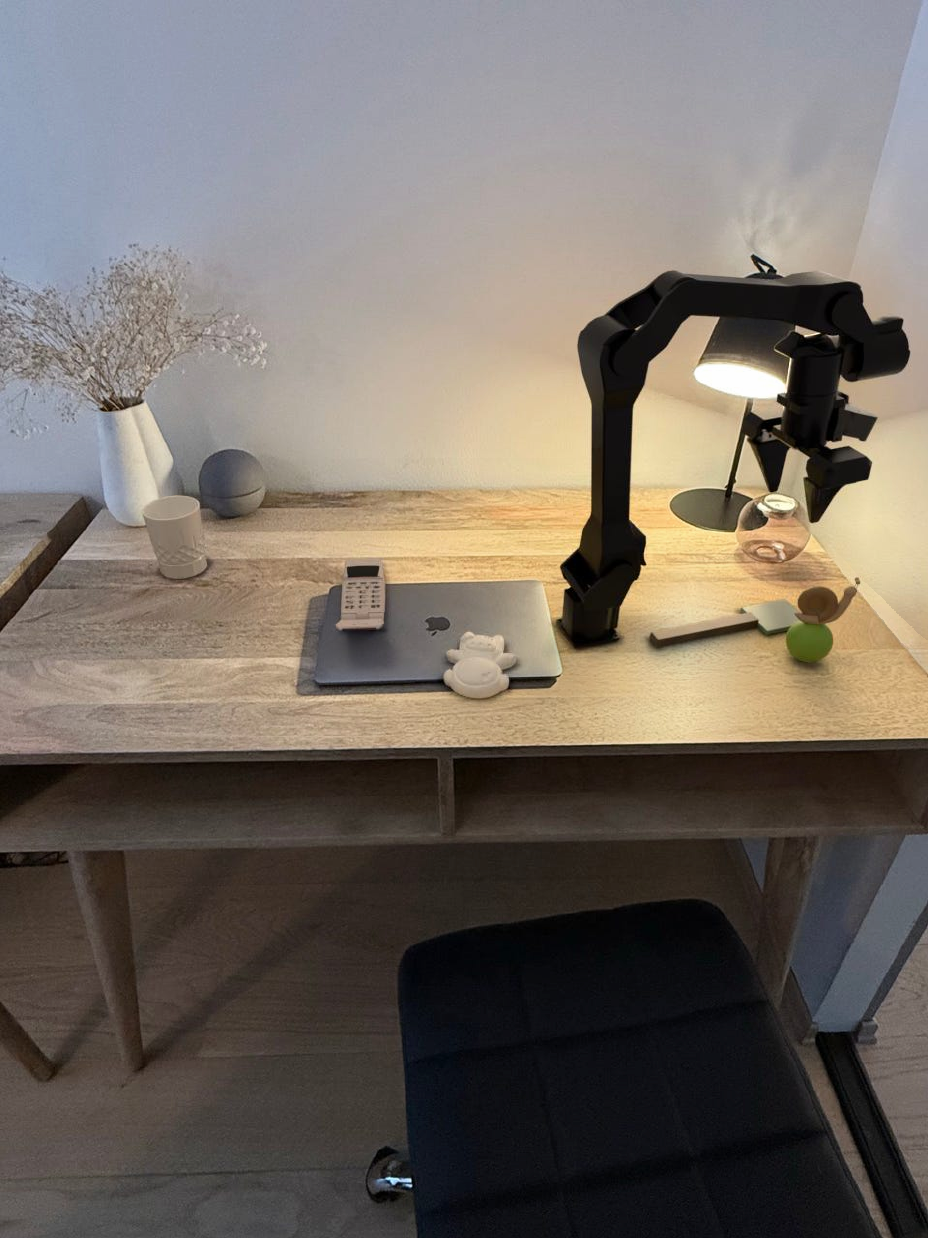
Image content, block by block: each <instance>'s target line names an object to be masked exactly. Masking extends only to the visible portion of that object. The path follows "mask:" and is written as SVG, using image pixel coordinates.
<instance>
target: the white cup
mask: <svg viewBox="0 0 928 1238" xmlns="http://www.w3.org/2000/svg"><path fill="white" fill-rule="evenodd" d="M201 510H202V509H201V503H200V501H199V500H198V499H197V498H194V497H192V496H189V495H170V496H169V495H167V496H163V497H160V498H157V499H153V500H152V501H150V502H148V503H146V505H144V506H143V508H142V509H141V514H142V517H143V520H144V523H145V528H146V530H147V534H148V537H149V542H150V544H151V546H152V550H153V553H154V555H155V558H156V561H157V564H158V568H159V571H160V574H162V575H163V576H164V577H165V578H168V579H172V580H183V579H188V578H192V577H196V576H198V575H199V574H201V573H203V572H204V571H206V569H207V568H208V560H207V555H206V549H207V547H206V537H205V532H204V525H203V518H202V511H201Z"/></svg>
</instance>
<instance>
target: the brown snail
mask: <svg viewBox="0 0 928 1238" xmlns="http://www.w3.org/2000/svg"><path fill="white" fill-rule="evenodd" d="M854 582H855V585H854V586H852V585H848V586H846V587H845V588H844V589H843V594H842V597H841V598H840V600H839V599H838V596H837V594H836V593H835V591H833V590H832V589H830V588H828V587H826V586H821V585H816V586H811V587H808V588H806V589H805V590H803V591H802V592H801V593H800V595H799V596H798V598H797V608H798V609H799V611H800V612H801V613H799V612H795V616H796V617H797V618H798V619H799V621H797V622H796V623H794V624H793V625H792V626H791V627H790V629H789V630H788V631H786V632H787V633H786V635H785V645H786V648H787V650H788V652H789V653H790V654H791V655H792V656H793V657H794V658H795V659H797V660H798V661H801V662H804V663H815V662H818V661H821V660H823V659H825V657H827V656H828V655H829V654H830V653H831V650H832V648H833V647H834V635H833V633H832V630H831V629H830V627H829V626H828V625H827V624H830V623H833V622H835V621H837V620H838V619H840V618H841V617H842V616H843V615H844V614H845V612H846V611H847V609H848V608H849V606H850V605H851V603H852V600H853V598H855V597H856V595H857V593H858V589H857V588H858V586H859V585H860V584H861V580H860V577H858V576H856V577H854Z"/></svg>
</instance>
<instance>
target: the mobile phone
mask: <svg viewBox="0 0 928 1238" xmlns="http://www.w3.org/2000/svg"><path fill="white" fill-rule="evenodd" d="M341 584H342V585H341V599H340V600H341V602H340V604H341V605H340V613H341V614H340V620H339V621H338V622H337V623H335V627H336V629H338V630H339V631H367V630H368V631H369V630H370V631H371V630H381V629H382V628H383V626H384V624H385V620H384V619H385V612H386V577H385V568H384V561H383V558H382V557H361V558H360V557H358V558H356V557H355V558H345V561H344V569H343V572H342V583H341Z"/></svg>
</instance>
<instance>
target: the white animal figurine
mask: <svg viewBox="0 0 928 1238" xmlns="http://www.w3.org/2000/svg"><path fill="white" fill-rule="evenodd" d="M459 641H460V643H459V646H458V648H459V649H454V648H451V649H449V650H447V651H446V655H445V656H446V658H447V661H448V662H449V663H452V664H453V666H452V669H451V668H448V669H446V670H445V672H444V673H443V682H444V684H445V685H446V686H447V687H450V688H451V689H452V690H453V691H454V692H455V693H457V695H460V696H463V697H467V698H470V699H487V698H490V697H493V696H496V695H497V694H498V693H500V692H503V691H505V690H507V689H508V688H509V685H510V678H509V676H508V675H507V674H506V673H503V671H504V670H507V669H510V668H513V666H514V665H515V664H516V663H517V661H518V657H517V655H516V654H514V653H511V652H508V653H507V652H504V650H505V640H504V637H503V636H502V635H501V634H495V635H494V636H492V637H491V636H487V635H483V634H474V632H472V631H466V632H464V634H463V635H462V636H461V637H460V638H459Z"/></svg>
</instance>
